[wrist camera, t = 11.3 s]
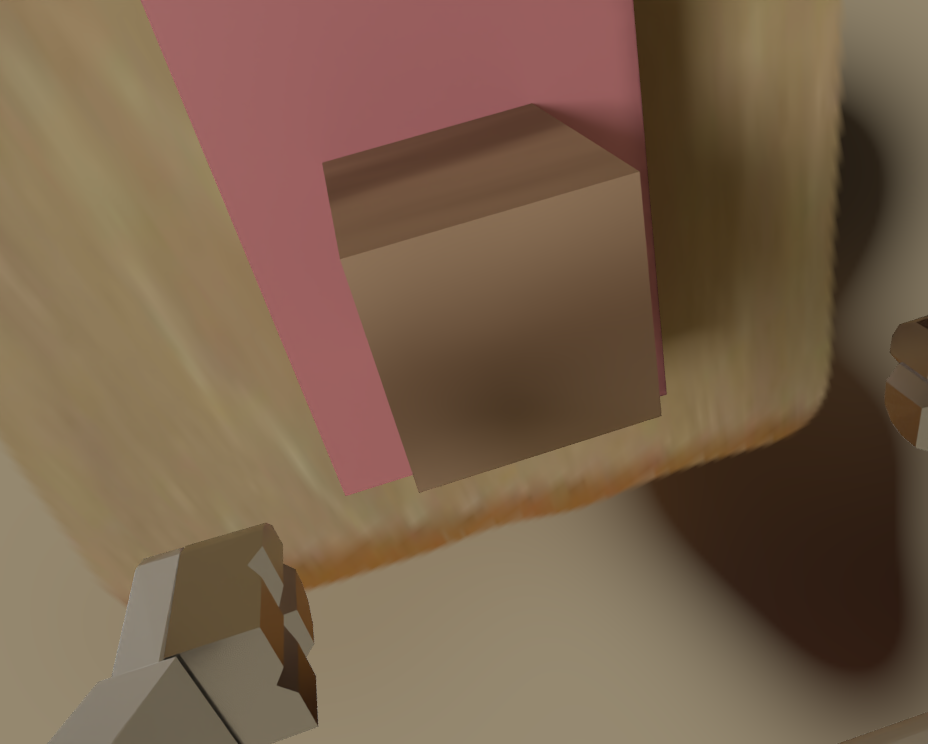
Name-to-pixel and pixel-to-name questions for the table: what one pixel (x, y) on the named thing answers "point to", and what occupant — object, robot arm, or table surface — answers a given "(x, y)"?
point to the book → (369, 126)
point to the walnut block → (499, 289)
